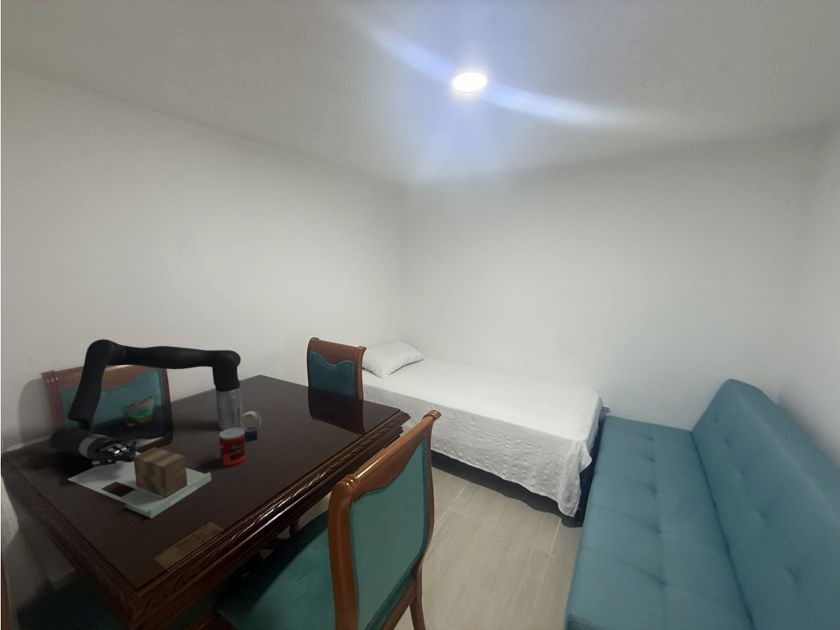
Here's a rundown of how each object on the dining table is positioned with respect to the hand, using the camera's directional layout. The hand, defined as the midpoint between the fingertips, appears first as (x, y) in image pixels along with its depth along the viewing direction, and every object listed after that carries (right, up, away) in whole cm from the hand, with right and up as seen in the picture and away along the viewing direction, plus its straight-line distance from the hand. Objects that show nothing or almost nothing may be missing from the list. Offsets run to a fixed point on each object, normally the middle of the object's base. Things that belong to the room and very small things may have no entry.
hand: (133, 458), depth 107 cm
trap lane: (+2, -8, 0) cm, 8 cm away
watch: (+24, -4, +29) cm, 38 cm away
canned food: (+25, -7, +13) cm, 29 cm away
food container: (-29, -1, +39) cm, 49 cm away
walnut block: (+13, -7, -4) cm, 15 cm away
